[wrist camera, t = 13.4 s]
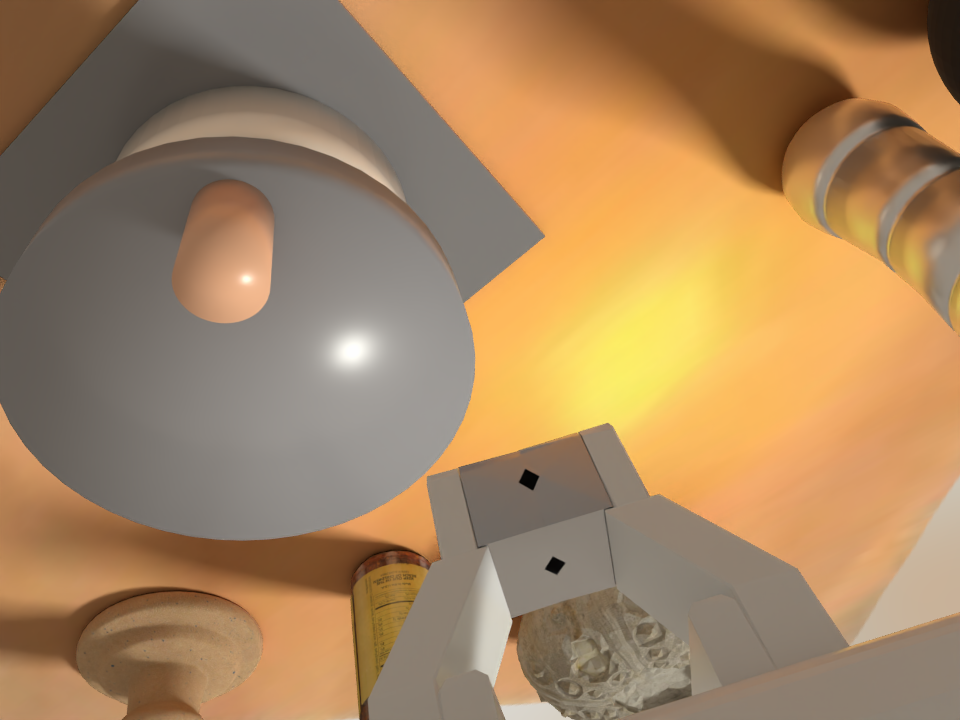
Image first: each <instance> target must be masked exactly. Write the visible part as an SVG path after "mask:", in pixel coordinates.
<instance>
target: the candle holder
mask: <svg viewBox="0 0 960 720" xmlns="http://www.w3.org/2000/svg"><path fill="white" fill-rule="evenodd" d="M262 650H263V638H262V634H261V631H260V628H259V626H258V624H257V622H256V621H255V619H254V618H253V617H252V616H251V615H250V614H249V613H248V612H247V611H245V610H244V609H243V608H241V607H240V606H238V605H236V604H234V603H232V602H230V601H227V600H225V599H222V598H220V597H216V596H212V595H208V594H202V593H195V592H182V591H172V592H158V593H151V594H145V595H141V596H137V597H133V598H130V599H127V600H124V601H121V602H119V603H117V604H115V605H113V606H111V607H109V608H107V609H106V610H104V611H103V612H101V613H100V614H98V615H97V616H96V617H95V618H94V619H93V620H92V621H91V622H90V623H89V624H88V625H87V627H86V628H85V629H84V631H83V633H82V634H81V637H80V639H79V642H78V645H77V650H76V661H77V666H78V670H79V671H80V673H81V675H82V677H83V678H84V679H85V680H86V681H87V682H88V684H89V685H91V686H92V687H93V688H94V689H96V690H97V691H99V692H100V693H102V694H104V695H106V696H108V697H110V698H113V699H116V700H118V701H120V702H121V703H124V704H127V705H128V707H127V715H126V716H125V717H124V718H123V719H122V720H204V719H203V718H202V717H201V716H200V714H199V710H200V705H201V703H204V702H207V701H209V700H211V699H213V698H215V697H218V696H221V695H223V694H225V693H227V692H229V691H231V690H232V689H234V688H236V687H237V686H239V685H240V684H241V683H242V682H244V681H245V680H246V679H247V678H248V677H249V676H250V675H251V674H252V673H253V672H254V670H255V669H256V667H257V665H258V663H259V661H260V658H261V655H262Z"/></svg>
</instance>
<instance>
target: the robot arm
mask: <svg viewBox="0 0 960 720" xmlns="http://www.w3.org/2000/svg"><path fill="white" fill-rule="evenodd" d="M458 468H459V469H458ZM458 468H457V469H453V470H450V471H446V472H442V473H439V474H435V475H431V476H427V488H428V493H429V498H430V503H431V509H432V514H433V519H434V524H435V529H436V535H437V540H438V545H439V550H440V555H441V560H439V561H436V562H433V563H432V564H431V566H430V568H429V571H428V573H427V575H426V577H425V579H424V581H423V583H422V585H421V588H420V590H419V592H418V594H417V596H416V598H415V600H414V602H413V605H412V607H411V609H410V611H409V613H408V615H407V617H406V619H405V622H404V624H403V626H402V628H401V630H400V632H399V634H398V636H397V639H396V641H395V643H394V645H393V647H392V649H391V651H390V653H389V656H388V658H387V660H386V662H385V664H384V666H383V668H382V670H381V673H380V675H379V677H378V679H377V681H376V683H375V685H374V687H373V690H372V692H371V694H370V696H369V698H368V710H369V720H505V717H504V715H503V712H502V710H501V707H500V705H499V702H498V699H497V697H496V694H495V692H494V689H493V688H494V685H495V681H496V678H497V674H498V671H499V667H500V664H501V660H502V657H503V653H504V650H505V646H506V643H507V639H508V636H509V632H510V629H511V625H512V619H511V618H514V617H517V616H520V615H523V614H526V613H529V612H532V611H535V610H538V609H541V608H544V607H547V606H550V605H553V604H556V603H559V602H561V601H565V600H568V599H572V598H576V597H579V596H583V595H587V594H590V593H594V592H597V591H601V590H605V589H608V588H612V587H615V586H617V589H618V590H619V591H620V592H621V593H623V594H624V595H625V596H627V597H628V598H629V599H630V600H632V601H633V602H634V603H635V604H637V605H638V606H639V607H640V608H642V609H643V610H644V611H646V612H647V613H648V614H649V615H651V616H652V617H653V618H654V619H656V620H657V621H658V622H659V623H661V624H662V625H663V626H665V627H666V628H667V629H668V630H670V631H671V632H672V633H673V634H675V635H676V636H677V637H679V638H680V639H681V640H682V641H684V642H685V643H686V644H687V645H689V646H690V667H691V688H692V696H689V697H686V698H683V699H680V700H677V701H673V702H670V703H667V704H664V705H661V706H657V707H654V708H651V709H648V710H645V711H641V712H638V713H635V714H632V715H629V716H625V717H622V718H619V719H616V720H960V612H959V613H956V614H952V615H949V616H946V617H943V618H940V619H936V620H933V621H930V622H927V623H924V624H921V625H917V626H914V627H911V628H908V629H904V630H901V631H898V632H895V633H892V634H888V635H885V636H882V637H879V638H876V639H873V640H869V641H866V642H863V643H860V644H856V645H853V646H849V645H848V643H847V642H846V640H845V639H844V637H843V636H842V634H841V633H840V631H839V630H838V628H837V627H836V625H835V624H834V622H833V621H832V619H831V618H830V616H829V615H828V613H827V612H826V610H825V609H824V608H823V606H822V605H821V603H820V602H819V600H818V599H817V597H816V596H815V594H814V593H813V591H812V590H811V588H810V587H809V585H808V584H807V582H806V581H805V579H804V578H803V576H802V575H801V573H800V572H799V570H798V569H797V568H795V567H793V566H791V565H790V564H788V563H786V562H784V561H782V560H780V559H778V558H777V557H775V556H773V555H771V554H769V553H767V552H765V551H764V550H762V549H760V548H758V547H756V546H754V545H753V544H751V543H749V542H747V541H745V540H743V539H741V538H740V537H738V536H736V535H734V534H732V533H730V532H728V531H727V530H725V529H723V528H721V527H719V526H717V525H715V524H714V523H712V522H710V521H708V520H706V519H704V518H703V517H701V516H699V515H697V514H695V513H693V512H691V511H690V510H688V509H686V508H684V507H682V506H680V505H678V504H677V503H675V502H673V501H671V500H669V499H667V498H665V497H664V496H662V495H660V494H658V495H654V496H651V497H650V496H649V494H648V492H647V490H646V488H645V486H644V484H643V482H642V481H641V479H640V477H639V475H638V473H637V471H636V469H635V467H634V465H633V464H632V462H631V460H630V458H629V456H628V454H627V452H626V450H625V448H624V447H623V445H622V443H621V441H620V439H619V437H618V435H617V433H616V431H615V430H614V428H613V426H612V425H610V424H609V423H606V424H603V425H600V426H596V427H593V428H590V429H587V430H583V431H580V432H578V433H574V434H570V435H567V436H564V437H561V438H557V439H554V440H551V441H548V442H544V443H541V444H538V445H535V446H532V447H528V448H525V449H522V450H519V451H517V452H513V453H510V454H506V455H502V456H499V457H495V458H491V459H488V460H484V461H480V462H477V463H473V464H469V465H466V466H462V467H458Z"/></svg>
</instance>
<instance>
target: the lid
mask: <svg viewBox="0 0 960 720" xmlns="http://www.w3.org/2000/svg"><path fill="white" fill-rule="evenodd" d="M474 375H475V350H474V343H473V335H472V330H471V327H470V323H469V320H468V317H467V313H466V310H465V307H464V304H463V301H462V298H461V295H460V292H459V289H458V286H457V283H456V280H455V277H454V274H453V271H452V269H451V267H450V265H449V262H448V260H447V258H446V256H445V254H444V252H443V250H442V248H441V246H440V245H439V243H438V242H437V240H436V239H435V237H434V236H433V234H432V233H431V231H430V230H429V228H428V227H427V225H426V224H425V223H424V222H423V221H422V220H421V219H420V218H419V216H418V215H417V214H416V213H415V212H414V211H413V210H412V209H411V208H410V206H409V205H407V204H406V203H405V202H404V201H403V200H402V199H400V198H399V197H398V196H397V195H396V194H395V193H393V192H392V191H391V190H390V189H389V188H388V187H386V186H385V185H383V184H382V183H380V182H378V181H377V180H375V179H374V178H372V177H371V176H369V175H368V174H366V173H365V172H363V171H362V170H360V169H357V168H355V167H353V166H351V165H349V164H347V163H345V162H343V161H341V160H339V159H337V158H335V157H333V156H330V155H327V154H324V153H321V152H318V151H315V150H312V149H309V148H306V147H303V146H299V145H294V144H290V143H285V142H280V141H275V140H270V139H261V138H249V137H238V136H228V137H202V138H195V139H189V140H183V141H177V142H171V143H166V144H162V145H159V146H156V147H152V148H149V149H146V150H143V151H139V152H136V153H134V154H131V155H129V156H127V157H125V158H123V159H121V160H119V161H116V162H114V163H112V164H110V165H108V166H106V167H104V168H103V169H101V170H100V171H98V172H97V173H95V174H94V175H92V176H91V177H89V178H88V179H86V180H85V181H83V182H82V183H80V184H79V185H78V186H77V187H75V188H74V189H73V190H72V191H71V192H70V193H69V194H68V195H67V196H66V197H65V198H64V199H62V200H61V201H60V202H59V203H58V204H57V205H56V207H55V208H54V209H53V211H52V212H51V213H50V214H49V216H48V217H47V218H46V220H45V221H44V222H43V223H42V225H41V226H40V228H39V229H38V231H37V232H36V234H35V235H34V237H33V238H32V240H31V242H30V243H29V245H28V246H27V248H26V249H25V251H24V252H23V254H22V256H21V257H20V259H19V260H18V262H17V263H16V265H15V266H14V268H13V270H12V272H11V274H10V276H9V278H8V280H7V281H6V283H5V285H4V287H3V289H2V291H1V293H0V403H1V405H2V407H3V409H4V411H5V414H6V416H7V418H8V420H9V422H10V424H11V426H12V427H13V429H14V430H15V431H16V433H17V434H18V436H19V437H20V439H21V440H22V442H23V443H24V445H25V446H26V447H27V448H28V450H29V451H30V452H31V453H32V454H33V455H34V456H35V457H36V458H37V460H38V461H39V462H40V463H41V464H42V465H43V466H44V467H45V468H46V469H47V470H49V471H50V472H51V473H52V474H53V475H54V476H56V477H57V478H58V479H59V480H60V481H61V482H62V483H64V484H65V485H67V486H68V487H69V488H71V489H72V490H74V491H75V492H77V493H78V494H80V495H81V496H83V497H84V498H86V499H87V500H89V501H91V502H93V503H95V504H97V505H99V506H100V507H102V508H104V509H106V510H108V511H110V512H112V513H114V514H117V515H119V516H122V517H124V518H127V519H129V520H131V521H134V522H136V523H139V524H143V525H146V526H149V527H153V528H156V529H159V530H162V531H167V532H172V533H176V534H181V535H186V536H191V537H200V538H208V539H216V540H242V541H244V540H265V539H276V538H283V537H291V536H297V535H302V534H306V533H311V532H315V531H320V530H323V529H326V528H329V527H333V526H336V525H339V524H342V523H345V522H347V521H350V520H352V519H354V518H357V517H359V516H362V515H364V514H366V513H368V512H370V511H372V510H374V509H376V508H378V507H379V506H381V505H383V504H385V503H387V502H388V501H390V500H391V499H393V498H394V497H396V496H397V495H399V494H400V493H402V492H403V491H405V490H406V489H408V488H409V487H410V486H411V485H412V484H413V483H415V482H416V481H417V480H418V479H419V478H420V477H422V476H423V475H424V474H425V473H426V472H427V471H428V470H429V469H430V468H431V466H432V465H433V464H434V463H435V462H436V461H437V460H438V459H439V458H440V456H441V455H442V454H443V452H444V451H445V449H446V448H447V447H448V445H449V444H450V442H451V441H452V440H453V438H454V436H455V434H456V432H457V430H458V428H459V426H460V425H461V423H462V421H463V418H464V416H465V413H466V410H467V407H468V404H469V401H470V398H471V393H472V388H473V382H474Z"/></svg>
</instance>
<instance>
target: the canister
mask: <svg viewBox="0 0 960 720" xmlns="http://www.w3.org/2000/svg"><path fill="white" fill-rule="evenodd" d="M228 136H238V137H249V138H261V139H270V140H275V141H280V142H285V143H290V144H294V145H299V146H303V147H306V148H309V149H312V150H315V151H318V152H321V153H324V154H327V155H330V156H333V157H335V158H337V159H339V160H341V161H343V162H345V163H347V164H349V165H351V166H353V167H355V168H357V169H360V170H362V171H363V172H365V173H366V174H368V175H369V176H371V177H372V178H374V179H375V180H377V181H378V182H380V183H382V184H383V185H385V186H386V187H388V188H389V189H390V190H391V191H392V192H393V193H395V194H396V195H397V196H398V197H399V198H400V199H402V200H403V201H404V202H405V203H406V204H407V205H409V206H410V208H411V209H412V210H413V211H414V212H415V213H416V214H417V215H418V216H419V218H420V219H421V220H422V221H423V222H424V223H425V224H426V225H427V227H428V228H429V230H430V231H431V233H432V234H433V236H434V237H435V239H436V240H437V242H438V243H439V245H440V246H441V248H442V250H443V252H444V254H445V256H446V258H447V260H448V262H449V265H450V267H451V269H452V271H453V274H454V277H455V280H456V283H457V286H458V289H459V292H460V295H461V298H462V301H463V303H464V302H465V301H467V300H468V299H469V298H470V297H471V296H473V295H474V294H475V293H476V292H478V291H479V290H480V289H481V288H483V287H484V286H485V285H486V284H487V283H489V282H490V281H491V280H492V279H494V278H495V277H496V276H497V275H498V274H500V273H501V272H502V271H503V270H505V269H506V268H507V267H508V266H509V265H511V264H512V263H513V262H514V261H516V260H517V259H518V258H519V257H521V256H522V255H523V254H524V253H525V252H527V251H528V250H529V249H530V248H532V247H533V246H534V245H535V244H536V243H538V242H539V241H540V240H541V239H543V238H544V237H545V235H544V233H543V232H542V231H541V230H540V229H539V228H538V226H537V225H536V224H535V223H534V222H533V221H532V220H531V218H530V217H529V216H528V215H527V214H526V213H525V212H524V210H523V209H522V208H521V207H520V206H519V205H518V204H517V202H516V201H515V200H514V199H513V198H512V197H511V196H510V195H509V193H508V192H507V191H506V190H505V189H504V188H503V187H502V185H501V184H500V183H499V182H498V181H497V180H496V179H495V177H494V176H493V175H492V174H491V173H490V172H489V171H488V169H487V168H486V167H485V166H484V165H483V164H482V163H481V161H480V160H479V159H478V158H477V157H476V156H475V155H474V153H473V152H472V151H471V150H470V149H469V148H468V147H467V146H466V144H465V143H464V142H463V141H462V140H461V139H460V138H459V136H458V135H457V134H456V133H455V132H454V131H453V130H452V128H451V127H450V126H449V125H448V124H447V123H446V122H445V120H444V119H443V118H442V117H441V116H440V115H439V114H438V112H437V111H436V110H435V109H434V108H433V107H432V106H431V104H430V103H429V102H428V101H427V100H426V99H425V98H424V97H423V95H422V94H421V93H420V92H419V91H418V90H417V89H416V87H415V86H414V85H413V84H412V83H411V82H410V81H409V79H408V78H407V77H406V76H405V75H404V74H403V73H402V71H401V70H400V69H399V68H398V67H397V66H396V65H395V63H394V62H393V61H392V60H391V59H390V58H389V57H388V55H387V54H386V53H385V52H384V51H383V50H382V49H381V48H380V46H379V45H378V44H377V43H376V42H375V41H374V40H373V38H372V37H371V36H370V35H369V34H368V33H367V32H366V30H365V29H364V28H363V27H362V26H361V25H360V24H359V22H358V21H357V20H356V19H355V18H354V17H353V16H352V14H351V13H350V12H349V11H348V10H347V9H346V8H345V6H344V5H343V4H342V3H341V2H340V1H339V0H138V2H137V3H136V4H135V5H134V6H133V7H132V8H131V9H130V11H129V12H128V13H127V14H126V15H125V16H124V17H123V18H122V20H121V21H120V22H119V23H118V24H117V25H116V26H115V27H114V29H113V30H112V31H111V32H110V33H109V34H108V35H107V36H106V38H105V39H104V40H103V41H102V42H101V43H100V44H99V45H98V47H97V48H96V49H95V50H94V51H93V52H92V53H91V54H90V56H89V57H88V58H87V59H86V60H85V61H84V62H83V63H82V65H81V66H80V67H79V68H78V69H77V70H76V71H75V72H74V74H73V75H72V76H71V77H70V78H69V79H68V80H67V81H66V83H65V84H64V85H63V86H62V87H61V88H60V89H59V90H58V92H57V93H56V94H55V95H54V96H53V97H52V98H51V99H50V101H49V102H48V103H47V104H46V105H45V106H44V107H43V108H42V110H41V111H40V112H39V113H38V114H37V115H36V116H35V117H34V119H33V120H32V121H31V122H30V123H29V124H28V125H27V126H26V128H25V129H24V130H23V131H22V132H21V133H20V134H19V135H18V137H17V138H16V139H15V140H14V141H13V142H12V143H11V144H10V146H9V147H8V148H7V149H6V150H5V151H4V152H3V153H2V155H1V156H0V277H2V278H4V279H5V280H8V278H9V276H10V274H11V272H12V270H13V268H14V266H15V265H16V263H17V262H18V260H19V259H20V257H21V256H22V254H23V252H24V251H25V249H26V248H27V246H28V245H29V243H30V242H31V240H32V238H33V237H34V235H35V234H36V232H37V231H38V229H39V228H40V226H41V225H42V223H43V222H44V221H45V220H46V218H47V217H48V216H49V214H50V213H51V212H52V211H53V209H54V208H55V207H56V205H57V204H58V203H59V202H60V201H61V200H62V199H64V198H65V197H66V196H67V195H68V194H69V193H70V192H71V191H72V190H73V189H74V188H75V187H77V186H78V185H79V184H80V183H82V182H83V181H85V180H86V179H88V178H89V177H91V176H92V175H94V174H95V173H97V172H98V171H100V170H101V169H103V168H104V167H106V166H108V165H110V164H112V163H114V162H116V161H119V160H121V159H123V158H125V157H127V156H129V155H131V154H134V153H136V152H139V151H143V150H146V149H149V148H152V147H156V146H159V145H162V144H166V143H171V142H177V141H183V140H189V139H195V138H202V137H228Z"/></svg>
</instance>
